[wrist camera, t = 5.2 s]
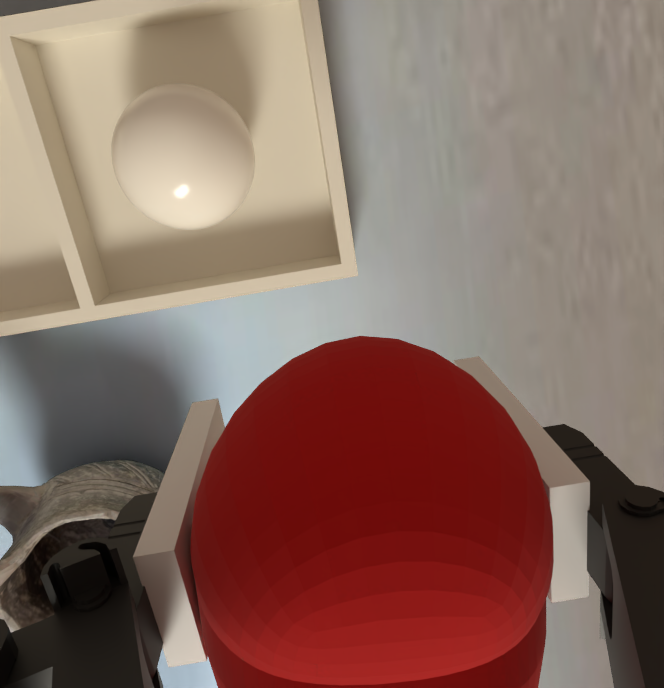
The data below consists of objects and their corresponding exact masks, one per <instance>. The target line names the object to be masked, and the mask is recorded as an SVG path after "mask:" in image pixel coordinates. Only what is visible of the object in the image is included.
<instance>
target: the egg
mask: <svg viewBox="0 0 664 688" xmlns="http://www.w3.org/2000/svg"><path fill="white" fill-rule="evenodd" d="M111 157H112V165H113V169H114V173H115V176H116V179H117V181H118V183H119V185H120V187H121V189H122V191H123V193H124V194H125V196H126V197H127V198H128V200H129V201H130V202H131V203H132V205H133V206H135V207H136V208H137V209H138V210H139V211H140V212H141V213H142V214H144V215H145V216H146V217H148V218H150V219H151V220H153V221H155V222H157V223H159V224H162V225H164V226H167V227H171V228H175V229H181V230H197V229H203V228H207V227H210V226H213V225H215V224H218V223H220V222H222V221H223V220H225V219H227V218H228V217H229V216H231V215H232V214H233V213H234V212H235V211H236V210H237V209H238V208H239V207H240V206H241V204H242V203H243V202H244V200H245V198H246V197H247V195H248V193H249V191H250V188H251V186H252V182H253V178H254V173H255V152H254V146H253V142H252V138H251V136H250V133H249V131H248V129H247V127H246V125H245V123H244V121H243V120H242V118H241V117H240V115H239V114H238V113H237V111H236V110H235V109H234V108H233V107H232V106H231V105H230V104H229V103H228V102H227V101H225V100H224V99H223V98H222V97H220V96H219V95H217V94H215V93H214V92H212V91H210V90H208V89H205V88H202V87H199V86H196V85H191V84H185V83H170V84H163V85H159V86H156V87H153V88H151V89H149V90H147V91H145V92H143V93H142V94H140V95H139V96H137V97H136V98H135V99H134V100H133V101H131V102H130V103H129V105H128V106H127V107H126V108H125V109H124V111H123V112H122V114H121V115H120V117H119V119H118V121H117V123H116V126H115V129H114V132H113V137H112V143H111Z"/></svg>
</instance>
